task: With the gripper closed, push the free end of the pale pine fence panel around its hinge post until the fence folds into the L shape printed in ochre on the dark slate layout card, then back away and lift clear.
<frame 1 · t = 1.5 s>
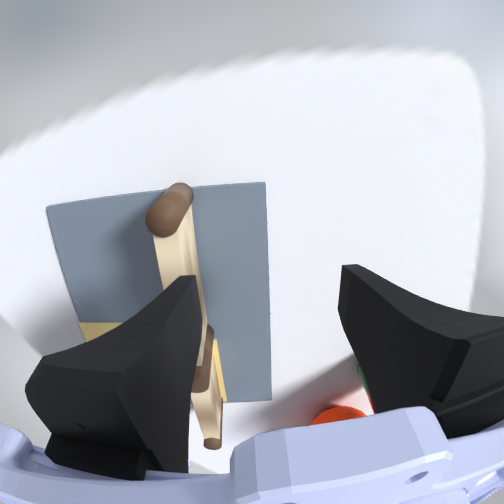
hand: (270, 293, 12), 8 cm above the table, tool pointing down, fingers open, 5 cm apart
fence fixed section: (202, 328, 23), resting on layout card
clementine: (329, 414, 28), on the table
layout card: (167, 319, 22), on the table
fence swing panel: (182, 277, 17), point 3 cm above the table, hinge at 0.0°
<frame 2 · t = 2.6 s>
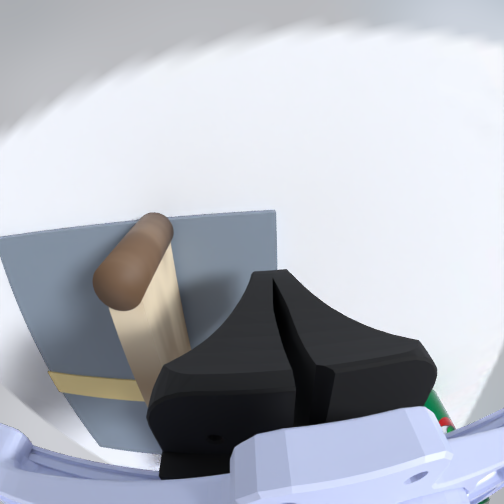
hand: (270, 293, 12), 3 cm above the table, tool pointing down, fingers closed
soda can: (404, 403, 20), on the table
layout card: (150, 375, 17), on the table
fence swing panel: (161, 345, 12), point 3 cm above the table, hinge at 0.0°
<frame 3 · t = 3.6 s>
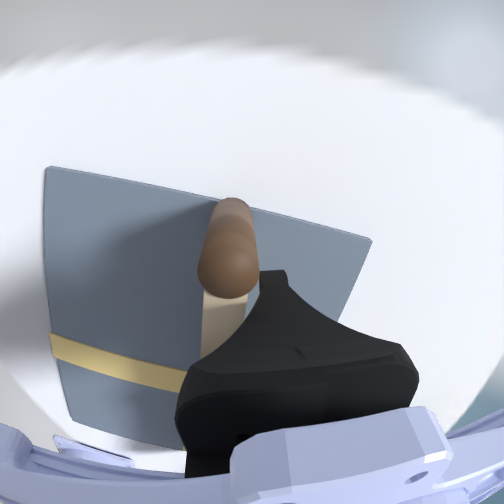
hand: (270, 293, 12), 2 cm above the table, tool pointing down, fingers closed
layout card: (174, 363, 16), on the table
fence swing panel: (220, 338, 12), point 3 cm above the table, hinge at 7.4°, touching gripper
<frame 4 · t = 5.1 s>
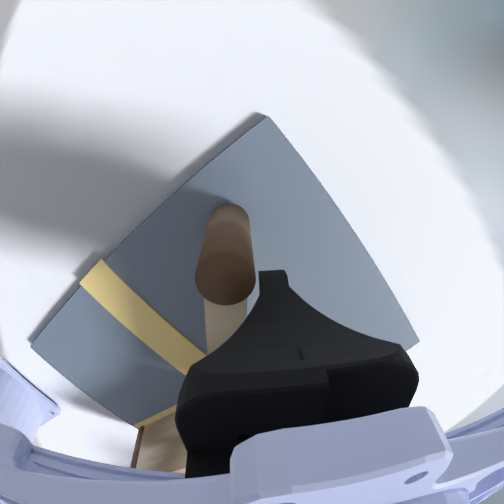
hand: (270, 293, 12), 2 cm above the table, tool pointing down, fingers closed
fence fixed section: (230, 385, 17), resting on layout card
layout card: (213, 354, 16), on the table
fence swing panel: (228, 342, 12), point 3 cm above the table, hinge at 49.2°, touching gripper
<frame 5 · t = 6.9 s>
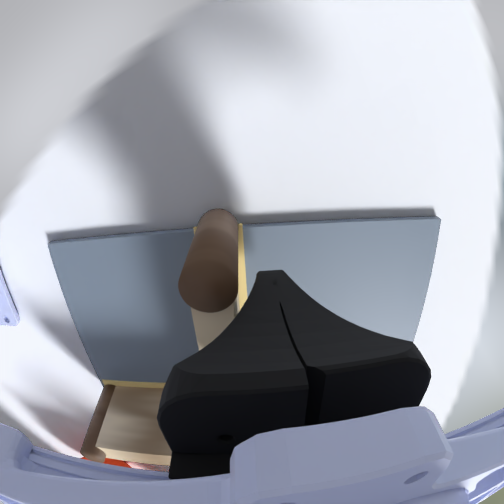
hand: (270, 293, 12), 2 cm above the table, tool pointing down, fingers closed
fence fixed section: (237, 387, 17), resting on layout card
layout card: (251, 357, 16), on the table
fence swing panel: (225, 346, 12), point 3 cm above the table, hinge at 89.8°, touching gripper
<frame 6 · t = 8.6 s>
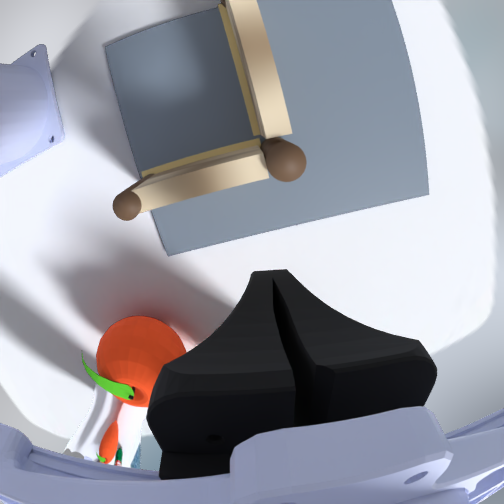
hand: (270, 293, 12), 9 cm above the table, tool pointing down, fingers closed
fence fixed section: (273, 150, 19), resting on layout card
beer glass: (124, 390, 27), on the table
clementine: (146, 329, 24), on the table
layout card: (280, 108, 18), on the table
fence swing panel: (252, 47, 13), point 3 cm above the table, hinge at 89.9°
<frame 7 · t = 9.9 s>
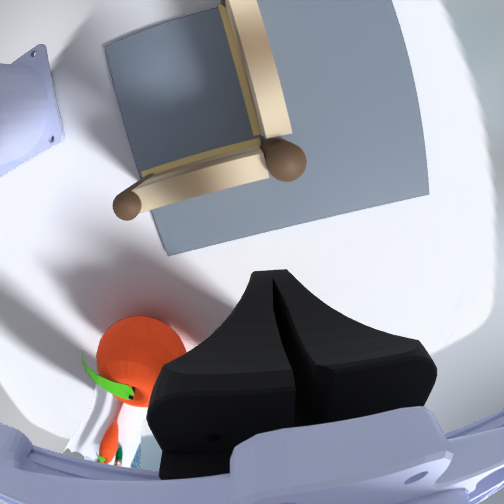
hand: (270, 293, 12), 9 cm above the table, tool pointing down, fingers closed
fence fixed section: (273, 150, 19), resting on layout card
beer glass: (124, 390, 27), on the table
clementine: (146, 329, 24), on the table
layout card: (280, 108, 17), on the table
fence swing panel: (252, 46, 13), point 3 cm above the table, hinge at 89.9°
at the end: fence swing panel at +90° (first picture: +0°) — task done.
